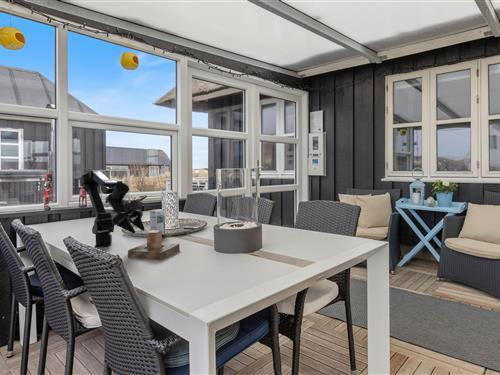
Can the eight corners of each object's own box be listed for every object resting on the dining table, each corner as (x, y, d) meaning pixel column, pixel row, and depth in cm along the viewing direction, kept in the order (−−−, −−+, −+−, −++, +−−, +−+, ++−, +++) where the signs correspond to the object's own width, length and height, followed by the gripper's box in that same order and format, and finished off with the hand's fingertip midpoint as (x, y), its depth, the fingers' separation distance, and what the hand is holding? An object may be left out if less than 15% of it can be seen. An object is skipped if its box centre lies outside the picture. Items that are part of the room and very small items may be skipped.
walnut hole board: (128, 257, 146) (127, 250, 146) (148, 248, 161) (148, 241, 161) (161, 259, 142) (161, 252, 141) (179, 250, 157) (179, 243, 157)
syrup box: (156, 237, 185) (156, 210, 184) (150, 236, 189) (149, 209, 188) (165, 235, 190) (164, 209, 189) (158, 234, 193) (157, 208, 192)
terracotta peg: (147, 254, 150) (146, 232, 149) (152, 252, 154) (152, 230, 153) (156, 255, 149) (156, 232, 148) (162, 252, 153) (161, 230, 152)
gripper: (120, 193, 146) (143, 222, 144) (140, 193, 164) (160, 218, 163) (102, 210, 147) (124, 238, 145) (124, 208, 165) (143, 233, 164)
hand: (139, 231), depth 154 cm, fingers open, 9 cm apart
